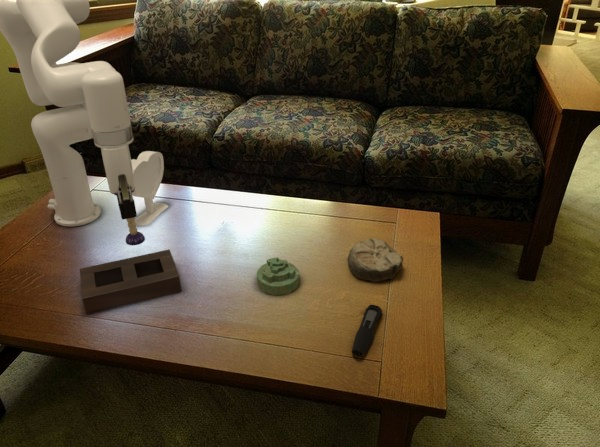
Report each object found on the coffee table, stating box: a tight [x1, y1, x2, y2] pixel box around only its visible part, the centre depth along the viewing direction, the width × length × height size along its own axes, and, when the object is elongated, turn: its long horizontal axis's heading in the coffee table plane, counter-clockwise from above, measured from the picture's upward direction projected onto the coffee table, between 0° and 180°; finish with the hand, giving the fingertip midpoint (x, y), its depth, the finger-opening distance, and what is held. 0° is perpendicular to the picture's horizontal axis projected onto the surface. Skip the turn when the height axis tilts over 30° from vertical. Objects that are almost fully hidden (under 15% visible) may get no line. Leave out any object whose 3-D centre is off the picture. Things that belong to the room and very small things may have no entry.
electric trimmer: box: [351, 304, 383, 357], centre depth 108 cm, size 4×16×3 cm, turn 159°
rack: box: [79, 249, 182, 315], centre depth 121 cm, size 12×21×4 cm, turn 113°
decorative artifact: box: [256, 257, 300, 296], centre depth 123 cm, size 10×7×10 cm
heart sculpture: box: [131, 150, 169, 226], centre depth 148 cm, size 16×5×18 cm, turn 162°
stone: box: [347, 237, 404, 283], centre depth 128 cm, size 13×13×5 cm
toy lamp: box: [113, 177, 146, 246], centre depth 113 cm, size 5×5×17 cm
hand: (128, 213), depth 113 cm, fingers closed on toy lamp, 2 cm apart
